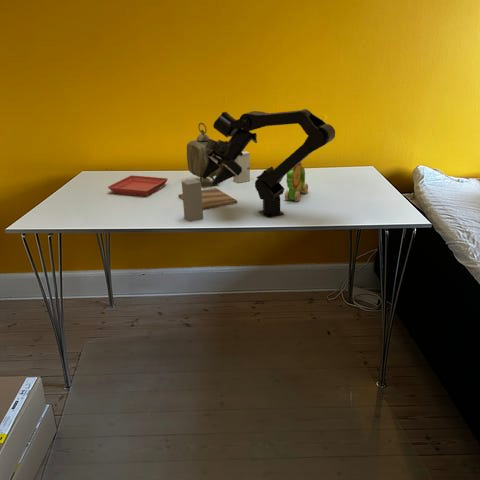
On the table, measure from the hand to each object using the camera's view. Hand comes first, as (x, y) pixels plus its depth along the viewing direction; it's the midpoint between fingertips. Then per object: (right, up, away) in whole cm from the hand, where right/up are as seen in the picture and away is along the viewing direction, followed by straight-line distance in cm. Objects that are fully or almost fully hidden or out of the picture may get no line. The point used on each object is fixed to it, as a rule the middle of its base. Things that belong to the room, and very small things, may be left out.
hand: (207, 181), depth 160 cm
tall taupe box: (-5, -12, +2) cm, 14 cm away
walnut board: (-2, -5, +20) cm, 20 cm away
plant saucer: (-30, 0, +34) cm, 46 cm away
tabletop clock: (-4, +4, +39) cm, 40 cm away
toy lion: (+32, -4, +20) cm, 38 cm away
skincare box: (+12, +5, +42) cm, 44 cm away
